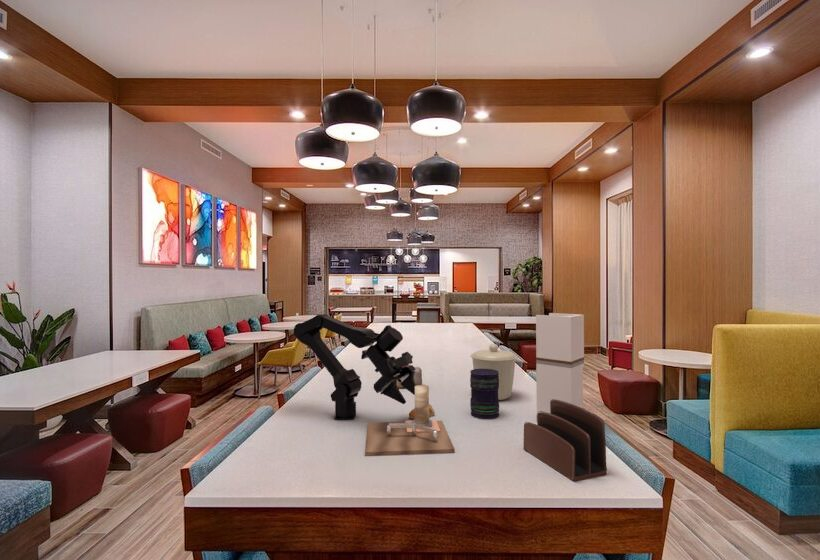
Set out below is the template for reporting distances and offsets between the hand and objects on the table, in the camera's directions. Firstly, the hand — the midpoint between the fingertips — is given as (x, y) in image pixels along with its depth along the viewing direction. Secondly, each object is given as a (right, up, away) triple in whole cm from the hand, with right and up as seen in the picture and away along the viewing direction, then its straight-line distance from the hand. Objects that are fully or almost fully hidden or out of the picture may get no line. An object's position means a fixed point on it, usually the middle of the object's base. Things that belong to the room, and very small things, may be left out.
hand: (411, 399), depth 131 cm
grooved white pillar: (+49, -9, +5) cm, 50 cm away
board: (-1, -9, -8) cm, 12 cm away
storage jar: (+25, -9, +13) cm, 30 cm away
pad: (+3, -8, -2) cm, 9 cm away
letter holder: (+38, -9, -24) cm, 46 cm away
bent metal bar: (0, -8, -11) cm, 14 cm away
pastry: (+4, -10, +12) cm, 16 cm away
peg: (+3, -8, -2) cm, 8 cm away
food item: (-2, -10, +52) cm, 53 cm away
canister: (+33, -9, +35) cm, 49 cm away
